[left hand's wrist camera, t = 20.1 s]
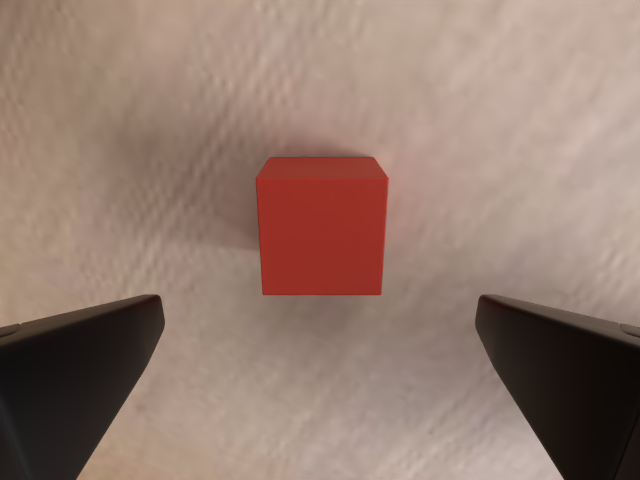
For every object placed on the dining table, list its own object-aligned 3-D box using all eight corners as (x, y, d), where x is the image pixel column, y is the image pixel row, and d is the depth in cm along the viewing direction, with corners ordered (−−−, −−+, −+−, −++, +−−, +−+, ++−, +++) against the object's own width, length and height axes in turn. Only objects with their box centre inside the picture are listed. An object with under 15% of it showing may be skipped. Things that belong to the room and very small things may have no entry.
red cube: (269, 157, 20) (255, 177, 15) (374, 157, 20) (389, 177, 15) (273, 253, 22) (262, 295, 17) (369, 253, 22) (381, 295, 17)
